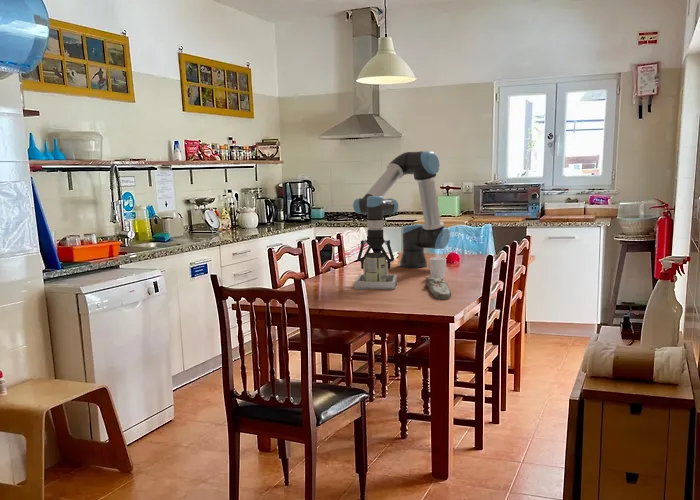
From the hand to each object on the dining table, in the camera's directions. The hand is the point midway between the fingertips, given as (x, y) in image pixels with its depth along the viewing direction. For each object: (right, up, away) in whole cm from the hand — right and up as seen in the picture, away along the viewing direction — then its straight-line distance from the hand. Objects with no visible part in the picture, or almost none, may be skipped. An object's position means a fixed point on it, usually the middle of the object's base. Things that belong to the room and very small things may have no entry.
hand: (375, 275), depth 283 cm
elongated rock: (+27, -7, -14) cm, 32 cm away
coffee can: (0, -4, +1) cm, 4 cm away
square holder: (0, -5, +1) cm, 5 cm away
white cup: (+31, -2, +14) cm, 35 cm away
